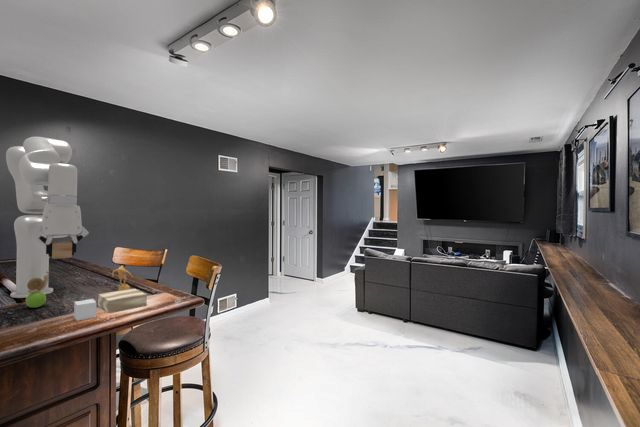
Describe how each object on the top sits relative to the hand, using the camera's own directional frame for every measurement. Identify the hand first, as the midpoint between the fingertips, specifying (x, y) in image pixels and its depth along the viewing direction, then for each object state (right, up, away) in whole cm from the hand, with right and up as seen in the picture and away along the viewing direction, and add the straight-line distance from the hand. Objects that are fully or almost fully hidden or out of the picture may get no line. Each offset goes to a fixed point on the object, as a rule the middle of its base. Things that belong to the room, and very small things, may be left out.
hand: (61, 255), depth 105 cm
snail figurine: (-13, -19, +5) cm, 24 cm away
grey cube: (+10, -20, -3) cm, 22 cm away
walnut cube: (0, -1, 0) cm, 1 cm away
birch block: (+14, -20, +10) cm, 26 cm away
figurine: (+5, -20, +24) cm, 31 cm away
